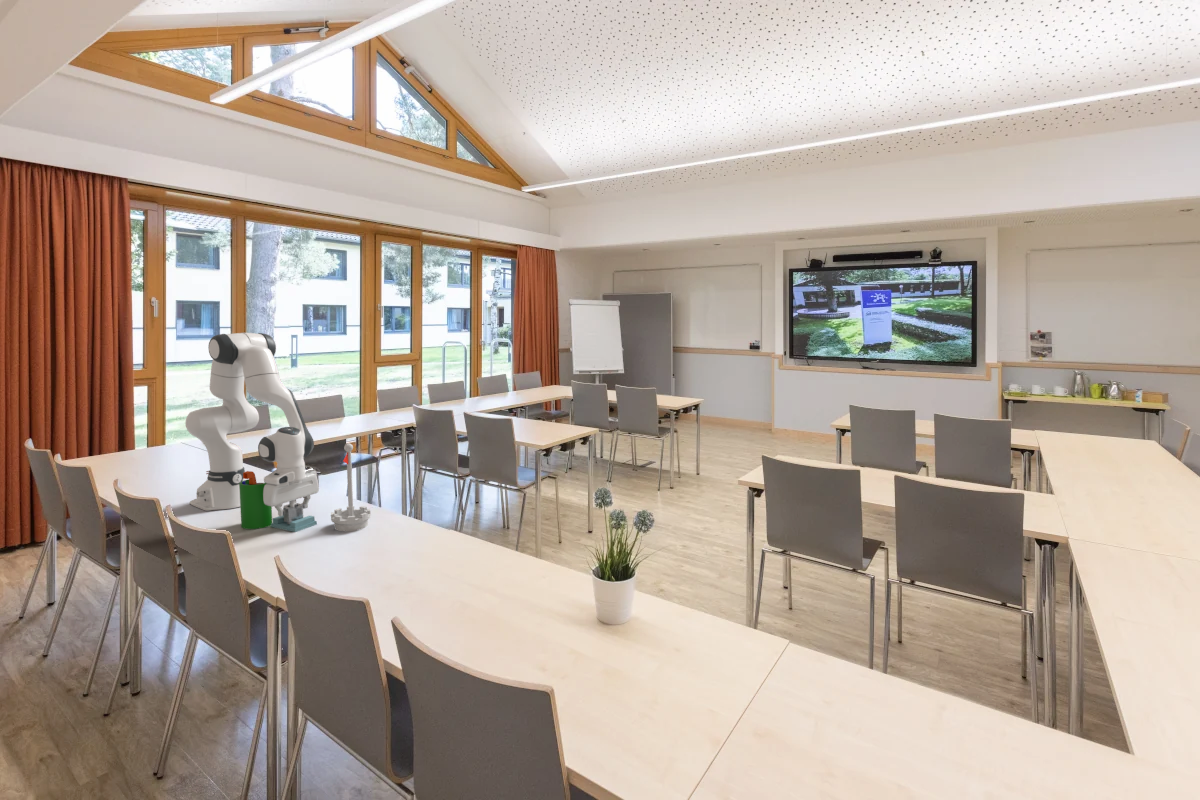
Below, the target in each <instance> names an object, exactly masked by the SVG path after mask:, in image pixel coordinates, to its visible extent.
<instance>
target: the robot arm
mask: <svg viewBox="0 0 1200 800" xmlns="http://www.w3.org/2000/svg"><path fill="white" fill-rule="evenodd" d="M276 350H277V344H276V341H275V340H274V339H273V337H272V336H271V335H270V334H267V333H262V332H259V333H254V332H237V333H227V334H226V333H220V334H215V335H213V336H212V337H211V339H209V342H208V353H209V355H210V358H212V361H211V368H210V377H209V379H210V380H209V391H210V393H211V394H212V395H213V396H214V397H216V398H218V399H220V400H222V405H218V406H210V407H203V408H199V409H195V410H193V411H190V412H189V413H188V414H187V416H186V418H185V422H184V423H185V427H186V430H187V431H188V433H189V434H190V435H191V436H192V437H195V438H197V439H198V440H200V441H201V443H202V444H203V445H204V447H205V449H206V451H207V454H208V462H209V470H207V471H205V472H206V473H205V474H206V475H207V479H206V481H205V482H203V483H202V484H201V485H199V486H198V487H197V489H196V498H195V499H192V500H190V501H189V505H191V506H194V507H196V508H198V509H201V510H203V511H216V510H217V511H218V510H229V509H235V508H239V507H240V489H239V483H240V482H241V481H244V480H247V479H243V473H244V472H246V470H245V467H244V461H243V460H244V459H243V450H242V448H241V447H240V445H238V444H237V443H234V442H231V441H229V440H228V436H227V435H228V434H236V433H242V432H243V433H244V432H246V431H249V430H251V429H253V428H256V427H257V425H258V423H259V421H260V414H259V411H258V410H257V408H256V407H255V406H253V405H252V404H251V403H250V402H249V401H248V400H247V398H246V395H245V388H246V390H247V393H248V394H249V395H250V396H251V397H252V398H253V399H254V400H257V401H259V402H261V403H266V404H270V405H273V406H275V407H278V408H279V409H280V410H282V411H283V413H284V415H285V418H286V421H287V423H288V425H289V426H285V427H284V426H283V427H280V428H279V429H277V430H276V431H275V433H272V434H269V435H266V436H263V437H262V438H261V440H260V441H259V443H258V447H257V450H258V455H259V457H260V458H261V459H262V460H263V461H265V462H267V463H274V462H275V463H277V464H276V469H274V470H273V471H272V472H271V473H269V474H267V475H266V476H264V477H263V481H264V482H263V483H267V484H266V485H265V486H264V490H263V500H264V504H265V505H267V506H272V507H274V508H275V510H276V511H277V515H278V516H283V515H285V510H283V504H286V503H289V501H292V500H296V501H297V500H298V499H302V498H303V501H302V503H301V502H300V504H303V510H304V509H309V508H308V507H309V502H310V500H311V496H312V495H314V494H317V493H318V492H319V490H320V485H319V481H318V474H317V470H316V469H314V468H308V469H306V462H305V460H304V459H305V458H307V457H309V455H310V454H311V453H312V452H313V450H314V447H315V441H314V439H313V436H312V435H311V432H310V431H309V429H308V427H307V425H306V422H305V420H304V417H303V414H302V412H301V409H300V406H299V404H298V402H297V400H296V397H295V395H294V393H293V391H292V390H291V389H289V388H287V387H286V386H285V384H284V383H283V382H282V379H281V377H280V373H279V368H278V366H277V362H276V360H275V355H276ZM278 516H277V517H278Z"/></svg>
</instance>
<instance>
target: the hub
mask: <svg viewBox="0 0 1200 800" xmlns="http://www.w3.org/2000/svg"><path fill="white" fill-rule="evenodd" d="M296 504H297V507H291V508H290V504H289V503H288V504H286V505H283V506H282V510H285V515H284V522H289V523H290V522H292V521H295V520H298V519H301V518H304V509H303V504H301V503H299V502H298V503H297V502H296Z"/></svg>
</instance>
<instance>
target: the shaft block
mask: <svg viewBox="0 0 1200 800" xmlns="http://www.w3.org/2000/svg"><path fill="white" fill-rule="evenodd" d="M296 503H297V499H296V500H292V501H289V502H288V504H290V508H291V507H297V504H296ZM315 518H316V517H315V516H314V515H313V516H312V515H307V516H303V518H301V519H298V520H295V521H292V522H290V523H289V522H284V515H283V516H275V517H272V523H271V526H270V527H271V528H275V529H280V530H285V531H288V532H293V533H296V532H300V531H302V530H305V529H308V528H311V527H314V526H316V525H318V524H317V521H316V519H315Z"/></svg>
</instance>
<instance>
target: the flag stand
mask: <svg viewBox="0 0 1200 800" xmlns="http://www.w3.org/2000/svg"><path fill="white" fill-rule="evenodd" d="M343 448H344V451H346V454H345V457H344V459H343V461H342V462H344V463H345V464H346V475H347V477H346V479H347V497H348V498H347V500H348V503H347V504H348V506H346V509H344V510H342V508H336V509H334V511H333V512H332V511H331V512H330V520H331V522H332V523H333V524H334V530H336V531H339V532H353V531H359V530H362V529H365V528H366V527H367V526H368V525H369V519H370V518H371V516H372V514H371V508H368V507H367V506H363V505H361V506H359V508H355V506H354V497H353V494H354V491H353V471H352V469H353V466H352V451H353V449H354V446H353V444H351V443H349V442H348V443H345V444H344V447H343Z"/></svg>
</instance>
